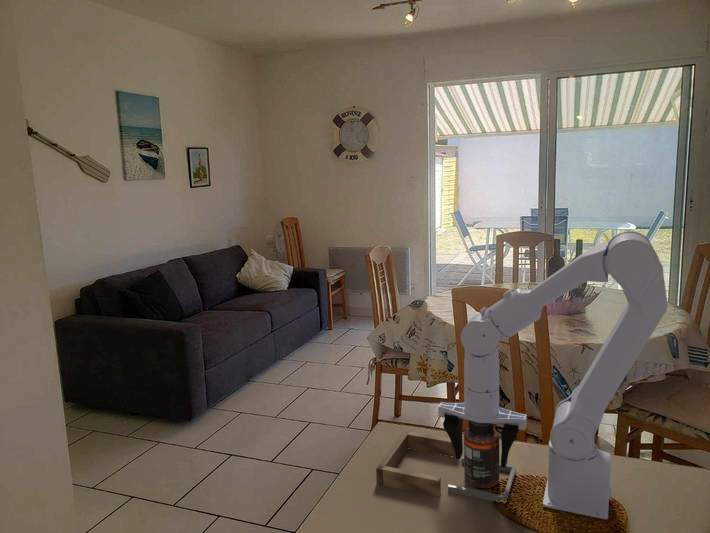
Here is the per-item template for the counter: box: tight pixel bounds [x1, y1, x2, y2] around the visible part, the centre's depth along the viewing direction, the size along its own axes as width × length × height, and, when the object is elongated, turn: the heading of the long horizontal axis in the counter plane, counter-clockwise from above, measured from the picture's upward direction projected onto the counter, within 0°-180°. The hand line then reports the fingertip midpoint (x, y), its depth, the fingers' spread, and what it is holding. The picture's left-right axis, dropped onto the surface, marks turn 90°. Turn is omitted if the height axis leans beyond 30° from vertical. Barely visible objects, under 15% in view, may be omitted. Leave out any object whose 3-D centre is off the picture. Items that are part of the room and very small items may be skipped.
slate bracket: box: [447, 456, 517, 502], centre depth 96 cm, size 10×10×1 cm
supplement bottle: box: [463, 420, 500, 489], centre depth 95 cm, size 6×6×11 cm
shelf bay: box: [375, 430, 456, 498], centre depth 100 cm, size 11×14×3 cm
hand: (481, 460), depth 95 cm, fingers open, 7 cm apart
